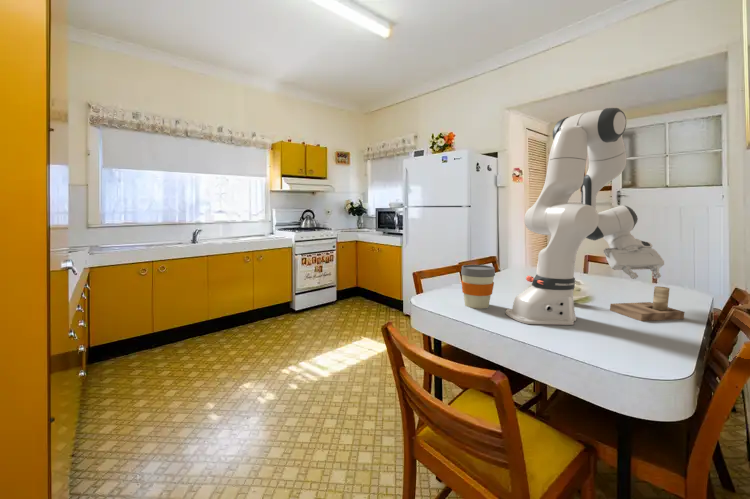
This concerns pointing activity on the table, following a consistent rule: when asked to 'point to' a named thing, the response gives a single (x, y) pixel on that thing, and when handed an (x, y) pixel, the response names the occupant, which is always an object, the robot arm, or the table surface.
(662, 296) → the pin
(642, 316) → the pin board
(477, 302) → the reusable coffee cup
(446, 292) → the table surface
